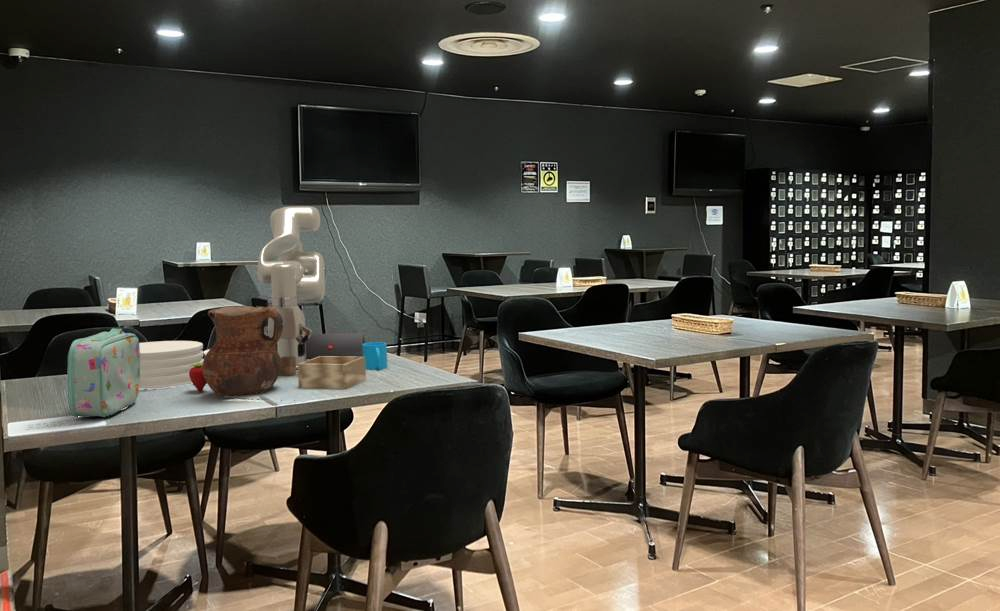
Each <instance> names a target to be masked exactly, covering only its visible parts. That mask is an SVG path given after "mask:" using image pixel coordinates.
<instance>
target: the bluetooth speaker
mask: <svg viewBox="0 0 1000 611" xmlns="http://www.w3.org/2000/svg"><path fill="white" fill-rule="evenodd" d="M365 343H366V341H365V334H364V333H355V332H354V333H347V332H346V333H345V332H343V333H341V332H340V333H339V332H338V333H333V332H331V333H315V334H311V335H310V338H309V339H308V340H307V341H306V359H307V360H310V359H313V358H315V357H318V356H349V357H363V347H362V344H365Z"/></svg>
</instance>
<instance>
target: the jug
mask: <svg viewBox="0 0 1000 611" xmlns="http://www.w3.org/2000/svg"><path fill="white" fill-rule="evenodd" d="M207 315H208V317H209V318H210V320H211V321H212V322H213V324H214V327H215V328H214V329H215V331H216V333H215V334H216V341H215V342H214V344H213V345H212V346H211V347H210V348H209V350H208V351H207V352H206V354H205V356H204V358H203V359H204V361H203V366H202V372H203V376H204V378H205V380H206V382H207V384H206V385H207V386H208V387H209V388H210V389H211V391H212V392H213V393H215V394H216V395H217V396H219V397H220V398H225V399H226V398H227V399H228V397H239V396H242V397H243V396H249V395H257V394H263V393H266V392H267V391H268V392H269V391H270V390H271V388H272V387H273V386H274V385H275V383H276V382H277V380H278V378H279V377H280V376H279V373H280V370H281V359H280V356H279V354H278V348H277V342H278V341H279V339H280V337H281V334H282V330H283V325H282V323H283V320H282V317H281V315H280V314H279V312H278V311H277V310H276V309H275V308H274V307H273V306H256V307H255V306H250V305H228V306H223V307H219V308H216V309H211V310H208V311H207ZM268 318H272V319H273V321H274V333H273V337H272V338H267V337H265V335H264V327H266V320H268Z"/></svg>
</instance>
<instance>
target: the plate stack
mask: <svg viewBox="0 0 1000 611" xmlns="http://www.w3.org/2000/svg"><path fill="white" fill-rule="evenodd" d="M139 347H140V379H139V388H162V387H170V386H178V385H185V384H191V383H192V381H191V379H190V376H189V371H190V369H191V368H193V367H194V366H191V365H194V364H197V363H199V364H203V361H204V359H205V358H203V357H204V350H203V349H204V344H203V343H202V342H199V341H195V340H194V341H193V340H162V341H146V342H139ZM201 358H202V359H201ZM200 359H201V360H200Z"/></svg>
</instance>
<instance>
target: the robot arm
mask: <svg viewBox="0 0 1000 611" xmlns="http://www.w3.org/2000/svg"><path fill="white" fill-rule="evenodd" d="M269 220H270V221H269V222H270V228H271V232H272V236H273V239H270V241H268V242H267V243H266V244H265V245H264V247H263V248H262V249H261V251H260V252H259V255H258V258H257V259H258V260H257V261H258V263H257V278H258V281H259V282H260V283H261V284H263V285H271V298H268V303H269V304H271V306H272V307H274V308H275V309H276V310H277V311H278V312H279V314H280V315H281V317H282V320H283V323H282V325H283V330H282V334H281V337H280V339H279V341H278V342H277V344H276V349H277V352H278V354H279V356H280V358H281V357H284V356H288V357H296V370H298V364H299V363H302V362H304V361H307V360H308V359H306V341H307V340H308V339H309V338H310V335H312V332H313V330H312V329H311V328H309V327H308V326H306V316H305V314H304V312H303V310H301V308H300V307H299V305H298V304H307V303H319V302H321V301H322V300H323V299H324V297H325V293H326V281H325V280H326V276H325V274H326V273H325V261H324V258H323V257H324V256H322V254H321V253H319V252H317V251H304V246H303V243H302V242H301V240H300V239H301V238H300V235H301V234H300V233H301V232H316V231H318V230H319V228H320V226H321V214H320V211H319V209H318V208H316V207H314V206H309V205H308V206H305V205H304V206H303V205H302V206H299V205H298V206H283V207H280V208H277V209H275V210H273V211H272V212H271V214H270V219H269ZM276 258H277V261H275V260H274V259H276ZM267 320H268V321H267V325H265V326H264V335H265V337H267V338H272V337H273V333H274V321H273V319H272V318H267Z"/></svg>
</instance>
